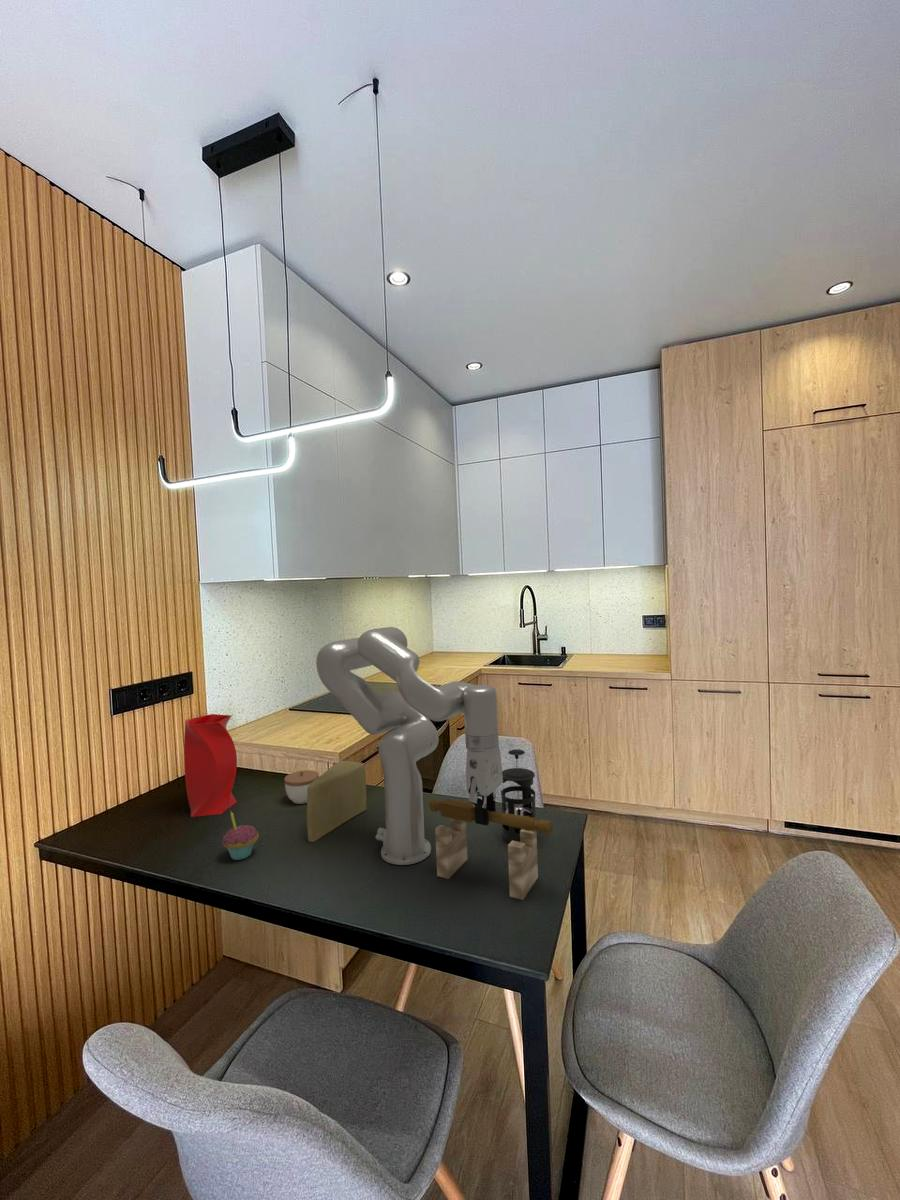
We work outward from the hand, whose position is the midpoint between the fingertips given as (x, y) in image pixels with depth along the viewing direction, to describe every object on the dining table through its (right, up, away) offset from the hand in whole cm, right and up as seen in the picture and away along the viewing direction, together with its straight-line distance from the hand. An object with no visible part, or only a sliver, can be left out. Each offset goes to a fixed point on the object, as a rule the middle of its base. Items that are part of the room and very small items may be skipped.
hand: (485, 819), depth 115 cm
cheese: (-41, -15, +30) cm, 53 cm away
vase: (-84, -16, +44) cm, 96 cm away
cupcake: (-62, -16, +15) cm, 65 cm away
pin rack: (0, -13, 0) cm, 13 cm away
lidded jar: (-56, -15, +48) cm, 75 cm away
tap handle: (0, -1, 0) cm, 1 cm away
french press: (+10, -13, +18) cm, 24 cm away
